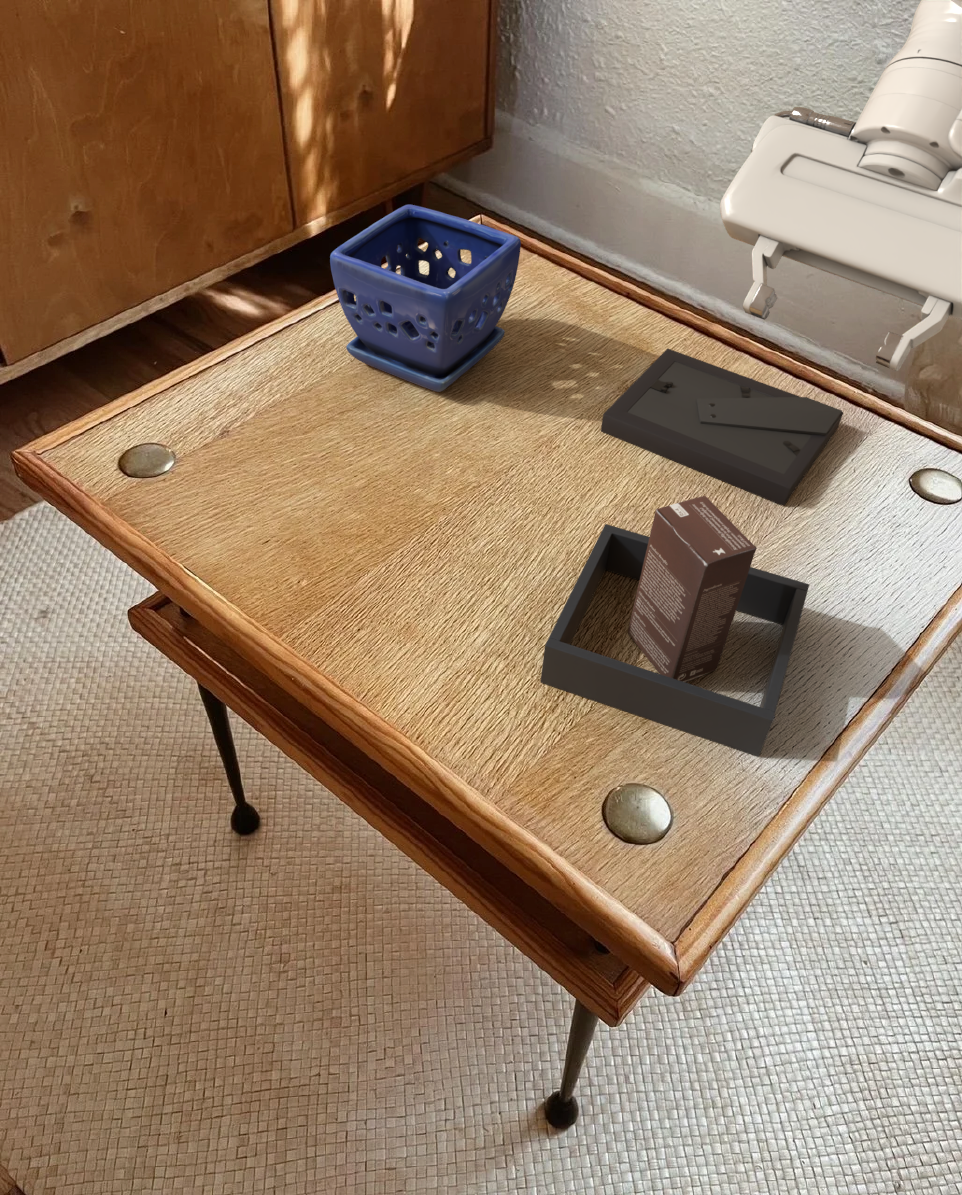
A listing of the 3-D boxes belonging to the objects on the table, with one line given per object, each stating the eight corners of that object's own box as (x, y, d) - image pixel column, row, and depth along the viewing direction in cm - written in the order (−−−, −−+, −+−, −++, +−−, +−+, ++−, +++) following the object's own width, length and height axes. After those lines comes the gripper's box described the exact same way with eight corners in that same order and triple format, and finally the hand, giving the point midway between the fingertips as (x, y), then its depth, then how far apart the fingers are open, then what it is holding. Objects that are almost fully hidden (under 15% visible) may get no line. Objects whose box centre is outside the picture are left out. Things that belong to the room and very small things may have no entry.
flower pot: (330, 367, 98) (321, 251, 90) (409, 309, 107) (407, 197, 98) (446, 414, 94) (448, 296, 85) (519, 349, 102) (528, 236, 93)
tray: (795, 621, 78) (809, 583, 75) (758, 757, 69) (773, 720, 66) (599, 561, 81) (605, 523, 78) (539, 682, 72) (544, 645, 69)
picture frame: (837, 429, 95) (664, 365, 101) (844, 409, 93) (668, 345, 99) (784, 506, 87) (599, 431, 93) (791, 486, 85) (602, 411, 92)
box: (721, 669, 74) (760, 547, 65) (668, 689, 72) (702, 567, 64) (674, 613, 78) (706, 491, 69) (623, 631, 76) (649, 508, 67)
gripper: (769, 74, 67) (669, 267, 69) (1091, 165, 59) (970, 382, 61) (781, 123, 73) (689, 301, 74) (1076, 213, 65) (966, 410, 66)
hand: (818, 338), depth 68 cm, fingers open, 8 cm apart
